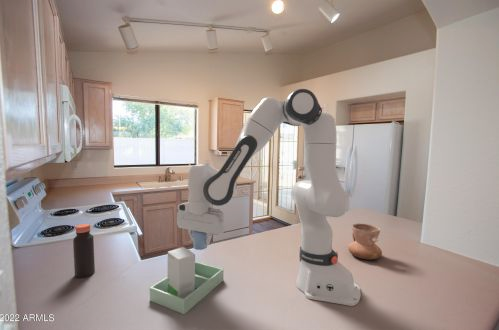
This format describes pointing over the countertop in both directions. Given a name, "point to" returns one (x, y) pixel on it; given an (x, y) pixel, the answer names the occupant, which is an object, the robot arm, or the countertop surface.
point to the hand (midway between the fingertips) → (200, 242)
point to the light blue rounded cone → (199, 240)
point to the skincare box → (181, 272)
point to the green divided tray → (204, 283)
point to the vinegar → (83, 251)
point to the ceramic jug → (365, 242)
